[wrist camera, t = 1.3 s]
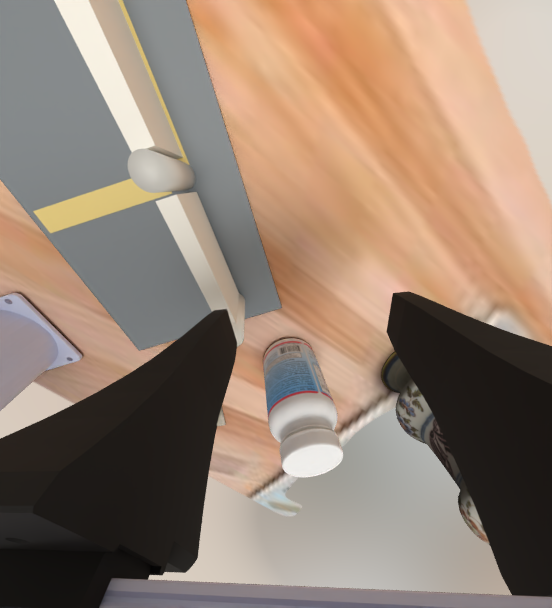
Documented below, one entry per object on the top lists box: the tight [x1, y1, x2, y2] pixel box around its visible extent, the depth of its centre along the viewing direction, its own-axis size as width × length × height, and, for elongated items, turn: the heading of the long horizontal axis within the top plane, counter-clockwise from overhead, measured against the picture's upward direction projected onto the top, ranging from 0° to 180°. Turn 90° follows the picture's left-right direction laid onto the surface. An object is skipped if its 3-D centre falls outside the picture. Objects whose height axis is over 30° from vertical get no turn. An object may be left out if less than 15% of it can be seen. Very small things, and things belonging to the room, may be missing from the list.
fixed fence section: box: [54, 0, 196, 193], centre depth 10 cm, size 12×2×6 cm, turn 16°
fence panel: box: [155, 192, 245, 346], centre depth 16 cm, size 10×2×6 cm, turn 16°
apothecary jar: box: [382, 352, 490, 545], centre depth 21 cm, size 12×12×18 cm
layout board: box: [0, 0, 282, 351], centre depth 16 cm, size 16×24×1 cm, turn 16°
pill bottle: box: [263, 338, 343, 477], centre depth 21 cm, size 6×6×11 cm
